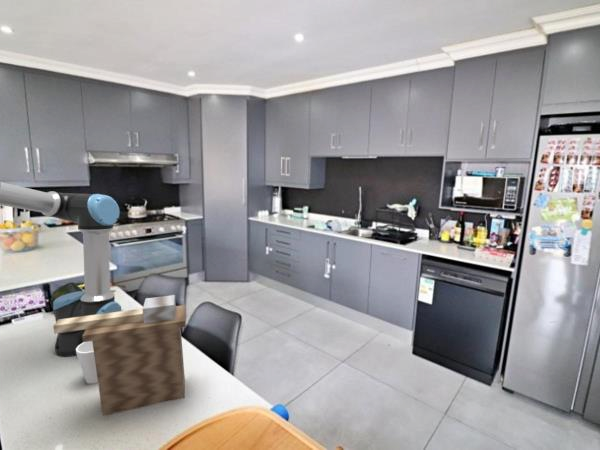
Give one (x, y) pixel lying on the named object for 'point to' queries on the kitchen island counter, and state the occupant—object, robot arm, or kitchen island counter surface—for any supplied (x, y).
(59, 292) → the squash
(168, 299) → the mallet
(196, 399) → the kitchen island counter surface
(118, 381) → the walnut stand
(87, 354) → the foam cup
